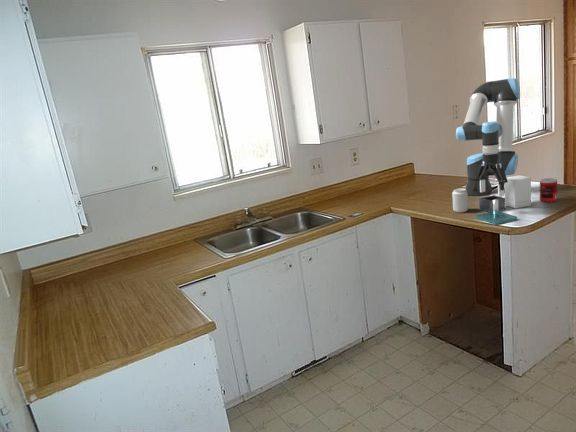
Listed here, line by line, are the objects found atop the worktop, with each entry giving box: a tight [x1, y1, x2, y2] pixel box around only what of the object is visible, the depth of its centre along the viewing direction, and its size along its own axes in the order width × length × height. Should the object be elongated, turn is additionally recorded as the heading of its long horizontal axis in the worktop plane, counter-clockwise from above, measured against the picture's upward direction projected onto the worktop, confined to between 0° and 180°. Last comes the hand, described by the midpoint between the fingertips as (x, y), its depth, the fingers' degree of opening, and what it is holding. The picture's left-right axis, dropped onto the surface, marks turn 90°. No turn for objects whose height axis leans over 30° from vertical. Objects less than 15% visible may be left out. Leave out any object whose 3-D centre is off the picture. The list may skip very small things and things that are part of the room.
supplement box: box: [504, 174, 532, 209], centre depth 220 cm, size 9×9×15 cm
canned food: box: [539, 177, 558, 203], centre depth 220 cm, size 8×8×11 cm
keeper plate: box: [475, 199, 518, 226], centre depth 206 cm, size 14×12×10 cm
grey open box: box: [478, 194, 506, 213], centre depth 221 cm, size 8×9×6 cm
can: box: [451, 187, 469, 214], centre depth 225 cm, size 8×8×12 cm
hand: (491, 194), depth 219 cm, fingers open, 13 cm apart
